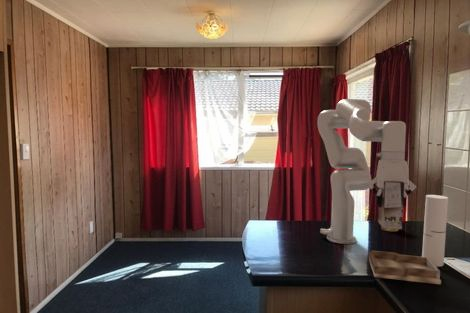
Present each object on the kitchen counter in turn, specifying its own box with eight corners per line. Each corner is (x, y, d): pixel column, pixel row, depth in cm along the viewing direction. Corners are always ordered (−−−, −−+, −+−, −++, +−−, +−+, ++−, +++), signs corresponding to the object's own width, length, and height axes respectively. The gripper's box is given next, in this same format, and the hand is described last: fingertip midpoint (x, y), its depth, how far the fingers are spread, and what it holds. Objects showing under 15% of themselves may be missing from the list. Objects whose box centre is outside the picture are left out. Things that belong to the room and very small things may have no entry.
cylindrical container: (443, 268, 127) (448, 199, 125) (420, 263, 131) (425, 197, 129) (443, 261, 133) (448, 196, 131) (422, 257, 137) (426, 194, 135)
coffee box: (403, 229, 120) (405, 182, 119) (382, 228, 121) (384, 181, 120) (395, 223, 129) (397, 179, 128) (377, 221, 130) (379, 178, 129)
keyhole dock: (374, 276, 118) (375, 266, 118) (368, 259, 134) (369, 250, 134) (440, 284, 114) (441, 273, 113) (427, 265, 129) (427, 255, 129)
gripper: (367, 156, 122) (365, 207, 123) (422, 158, 118) (420, 211, 119) (365, 155, 129) (363, 203, 130) (416, 156, 125) (414, 206, 126)
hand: (390, 206), depth 125 cm, fingers closed on coffee box, 6 cm apart
